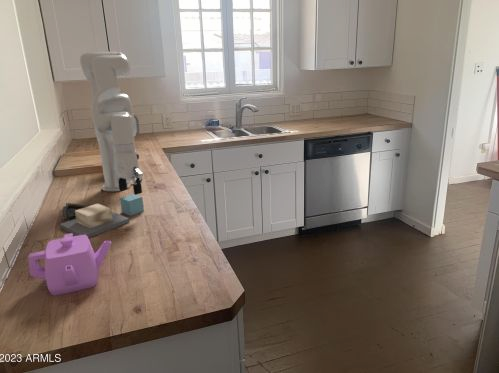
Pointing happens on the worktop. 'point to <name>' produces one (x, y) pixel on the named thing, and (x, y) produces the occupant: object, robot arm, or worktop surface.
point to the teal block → (132, 204)
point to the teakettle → (68, 264)
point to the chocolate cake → (71, 211)
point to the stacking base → (96, 229)
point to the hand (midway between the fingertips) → (130, 191)
